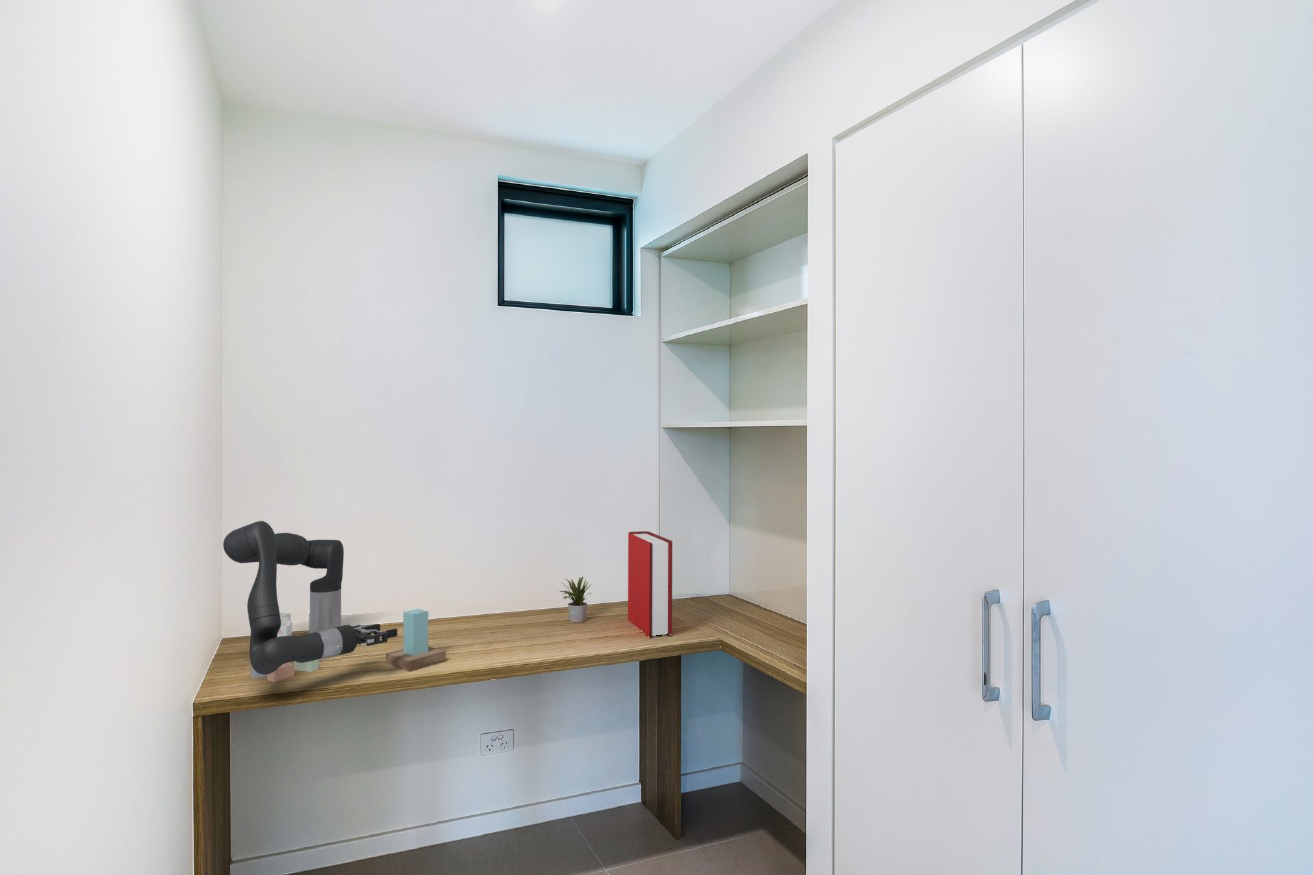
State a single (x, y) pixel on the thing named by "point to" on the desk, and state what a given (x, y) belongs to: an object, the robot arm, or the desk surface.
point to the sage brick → (307, 666)
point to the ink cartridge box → (285, 625)
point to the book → (650, 582)
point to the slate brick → (256, 674)
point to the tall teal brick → (415, 632)
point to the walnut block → (415, 659)
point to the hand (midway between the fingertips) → (388, 629)
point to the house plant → (577, 601)
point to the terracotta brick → (282, 672)
